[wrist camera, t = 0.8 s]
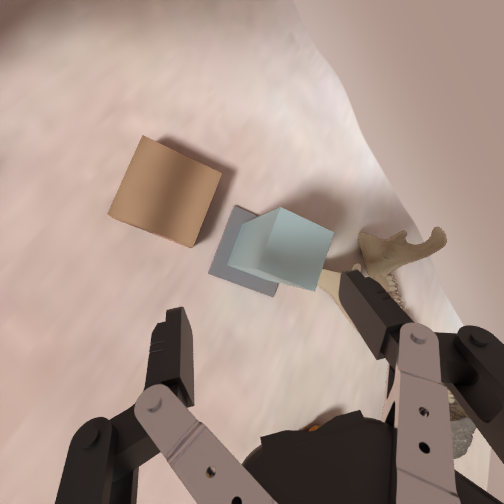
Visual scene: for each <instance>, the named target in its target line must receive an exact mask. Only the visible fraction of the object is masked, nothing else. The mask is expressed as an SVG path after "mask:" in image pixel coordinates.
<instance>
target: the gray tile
mask: <svg viewBox="0 0 504 504" xmlns="http://www.w3.org/2000/svg"><path fill="white" fill-rule="evenodd" d="M257 217H259V216H257V215H254V214H252V213H250V212H248V211H245V210H243V209H241V208H239V207H237V206H234V207H233V210H232V212H231V215H230V217H229V220H228V223H227V225H226V228H225V230H224V233H223V236H222V238H221V241H220V243H219V246H218V249H217V251H216V254H215V256H214V259H213V262H212V264H211V267H210V269H209V272H208V274H211V275H214V276H216V277H219V278H222V279H225V280H227V281H230V282H233V283H236V284H238V285H241V286H244V287H247V288H249V289H252V290H255V291H258V292H260V293H263V294H266V295H268V296H271V297H274V294H275V291H276V289H277V286H278V283H277V282H272V281H268V280H265V279H262V278H260V277H257V276H254V275H252V274H249V273H246V272H244V271H241V270H239V269H236V268H233V267H231V266H228V265H227V264H228V261H229V258H230V256H231V253H232V250H233V248H234V245H235V242H236V240H237V237H238V234H239V232H240V229H241V226H242V224H243V223H246V222H248V221H250V220H252V219H255V218H257Z"/></svg>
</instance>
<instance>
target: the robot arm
mask: <svg viewBox="0 0 504 504" xmlns="http://www.w3.org/2000/svg"><path fill="white" fill-rule="evenodd" d="M338 295H339V300H340V303H341V305H342V307H343V308H344V310H345V311H346V313H347V314H348V316H349V318H350V319H351V321H352V322H353V324H354V325H355V327H356V328H357V330H358V332H359V333H360V335H361V336H362V338H363V339H364V341H365V342H366V344H367V346H368V347H369V349H370V350H371V352H372V353H373V355H374V356H375V358H376V360H379V359H383V358H386V360H387V361H388V368H387V379H386V389H385V400H384V407H383V412H382V416H381V421H380V420H376V419H373V418H367V417H363V415H362V413H361V411H360V410H358V411H354V412H351V413H347V414H343V415H340V416H336V417H335V418H333V419H332V420H330V421H329V422H327V423H326V424H324V425H322V426H321V427H319V428H318V429H316V430H314V431H291V430H285V431H281V432H278V433H274V434H270V435H267V436H263V437H260V438H261V443H262V444H261V445H260V446H258V447H257V448H256V449H254V450H253V451H252V452H251V453H250V454H249V455H248V456H247V457H246V459H245V460H244V462H243V463H242V465H241V464H240V462H239V461H238V460H237V459H236V458H235V457H234V456H233V455H232V454H231V453H230V452H229V450H228V449H227V448H226V447H225V446H224V445H223V444H222V443H221V442H220V441H219V440H218V438H217V437H216V436H215V435H214V434H213V433H212V432H211V431H210V430H209V429H208V428H207V427H206V426H205V425H204V424H203V423H202V422H199V421H198V420H197V419H196V418H195V417H194V416H193V414H192V413H191V412H190V411H189V410H188V409H187V408H188V407H192V406H194V367H193V335H192V329H191V326H190V323H189V320H188V318H187V315H186V312H185V310H184V307H178V308H173V309H169V310H167V311H166V322H161V323H157V325H156V327H155V329H154V330H153V332H152V336H151V343H150V344H151V346H150V351H149V352H150V354H149V359H148V367H147V374H146V382H145V388H144V391H143V392H142V393H141V395H140V396H139V397H138V399H137V401H136V403H135V404H134V405H133V406H131V407H130V408H129V409H127V410H125V411H124V412H122V413H120V414H119V415H117V416H115V417H113V418H112V419H110V420H108V419H107V418H104V417H97V418H94V419H91V420H89V421H88V422H86V423H85V424H84V425H82V426H81V427H80V428H79V429H78V431H77V432H76V433H75V435H74V436H73V438H72V440H71V443H70V446H69V450H68V454H67V458H66V462H65V466H64V470H63V474H62V478H61V482H60V485H59V489H58V493H57V497H56V501H55V504H136V502H137V487H138V472H139V466H141V465H142V464H144V463H145V462H147V461H148V460H150V459H151V458H152V457H154V456H155V455H157V454H158V453H160V452H161V453H162V454H163V455H164V457H165V458H166V460H167V462H168V463H169V465H170V466H171V468H172V469H173V470H174V472H175V473H176V475H177V476H178V477H179V479H180V480H181V482H182V483H183V484H184V486H185V487H186V488H187V490H188V491H189V493H190V494H191V495H192V497H193V498H194V500H195V501H196V502H197V504H503V503H502V502H500V501H499V500H498V499H496V498H495V497H493V496H492V495H490V494H489V493H488V492H486V491H485V490H483V489H482V488H480V487H479V486H478V485H476V484H475V483H473V482H472V481H470V480H469V479H468V478H466V477H465V476H463V475H462V474H460V473H459V472H457V471H456V470H455V469H454V460H453V448H452V436H451V423H450V411H449V399H448V390H447V388H448V389H449V390H450V392H451V393H452V394H453V396H454V397H455V399H456V400H457V401H458V403H459V404H460V405H461V407H462V408H463V409H464V411H465V412H466V413H467V415H468V416H469V418H470V419H471V420H472V422H473V423H474V424H475V426H476V427H477V428H478V430H479V431H480V432H481V434H482V435H483V437H484V438H485V439H486V441H487V442H488V443H489V445H490V446H491V447H492V449H493V450H494V451H495V453H496V454H497V455H498V457H499V458H500V460H501V461H502V462H503V464H504V344H503V343H501V342H500V341H499V340H498V339H497V338H496V337H495V336H494V335H493V334H492V333H490V332H489V331H487V330H485V329H483V328H480V327H477V326H463V327H461V328H460V329H459V331H458V333H457V334H456V333H438V332H433V331H432V330H431V329H430V328H428V327H426V326H424V325H422V324H419V323H414V322H413V321H412V320H411V318H410V317H409V316H408V315H407V314H406V313H405V312H404V310H403V309H402V308H401V307H400V306H399V305H398V304H397V303H396V301H395V300H394V299H393V298H391V296H390V295H389V293H388V292H386V290H385V289H384V288H383V287H382V285H381V284H380V283H379V282H377V281H375V280H374V279H372V278H370V277H366V278H365V277H364V276H363V275H362V274H361V272H360V271H359V270H357V269H355V270H350V271H345V272H342V273H341V277H340V285H339V293H338ZM441 382H443V383H444V384H445V385H444V384H442V383H441ZM446 386H447V387H446Z"/></svg>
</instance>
